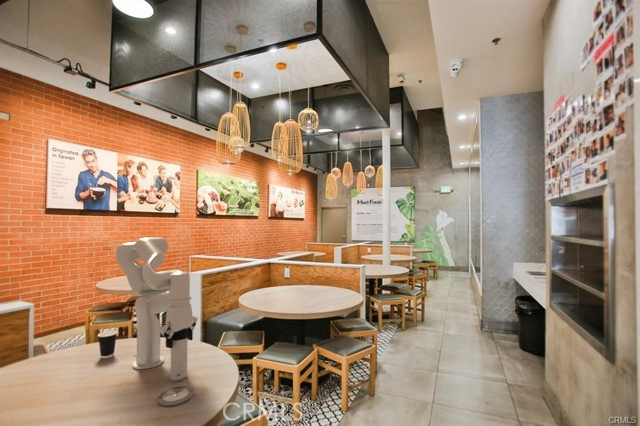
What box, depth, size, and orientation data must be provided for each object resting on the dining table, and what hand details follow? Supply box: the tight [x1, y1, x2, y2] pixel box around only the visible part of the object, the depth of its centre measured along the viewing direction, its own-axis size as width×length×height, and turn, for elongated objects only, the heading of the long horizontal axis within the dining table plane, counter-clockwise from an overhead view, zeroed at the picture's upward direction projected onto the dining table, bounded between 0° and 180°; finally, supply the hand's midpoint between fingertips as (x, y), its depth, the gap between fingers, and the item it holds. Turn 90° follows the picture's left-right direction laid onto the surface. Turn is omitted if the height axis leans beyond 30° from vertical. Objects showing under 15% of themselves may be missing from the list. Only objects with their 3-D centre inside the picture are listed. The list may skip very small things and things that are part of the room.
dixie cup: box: [97, 330, 118, 359], centre depth 151 cm, size 8×8×11 cm
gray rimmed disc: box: [157, 385, 194, 408], centre depth 114 cm, size 12×12×1 cm
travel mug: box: [170, 328, 188, 383], centre depth 128 cm, size 6×7×20 cm
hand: (179, 343), depth 129 cm, fingers open, 9 cm apart
